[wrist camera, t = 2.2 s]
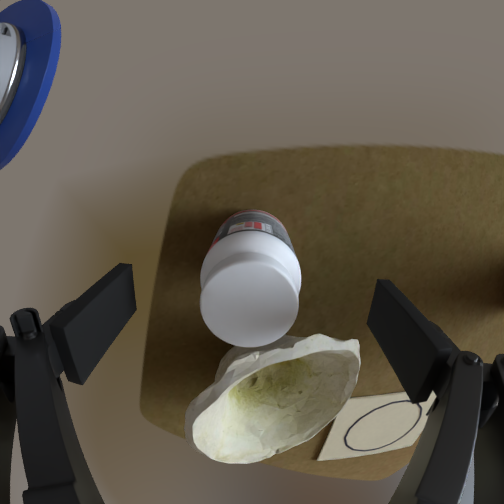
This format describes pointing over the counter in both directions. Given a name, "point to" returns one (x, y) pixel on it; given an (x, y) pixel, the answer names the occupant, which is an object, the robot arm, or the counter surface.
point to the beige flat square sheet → (375, 425)
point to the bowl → (272, 397)
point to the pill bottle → (250, 280)
